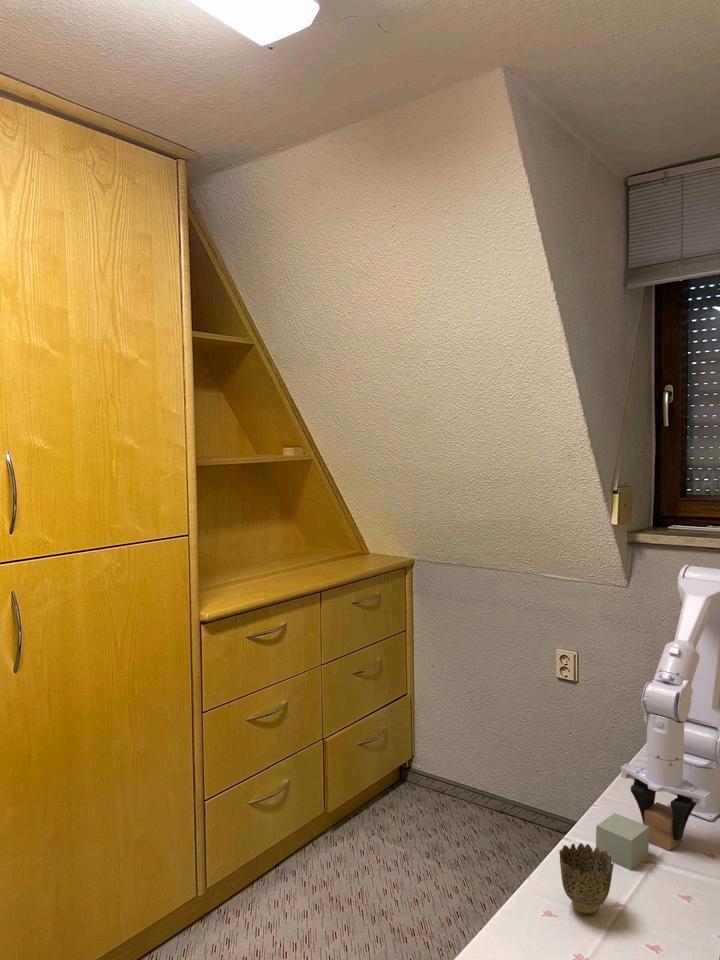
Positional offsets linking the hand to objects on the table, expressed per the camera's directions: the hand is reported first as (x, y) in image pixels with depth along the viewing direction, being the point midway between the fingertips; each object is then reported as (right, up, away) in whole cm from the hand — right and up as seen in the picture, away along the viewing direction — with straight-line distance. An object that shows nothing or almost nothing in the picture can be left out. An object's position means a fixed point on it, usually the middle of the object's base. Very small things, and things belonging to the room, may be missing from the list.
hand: (663, 832), depth 125 cm
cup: (-19, -3, -18) cm, 26 cm away
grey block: (-8, -2, -4) cm, 9 cm away
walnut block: (0, -1, 0) cm, 1 cm away
